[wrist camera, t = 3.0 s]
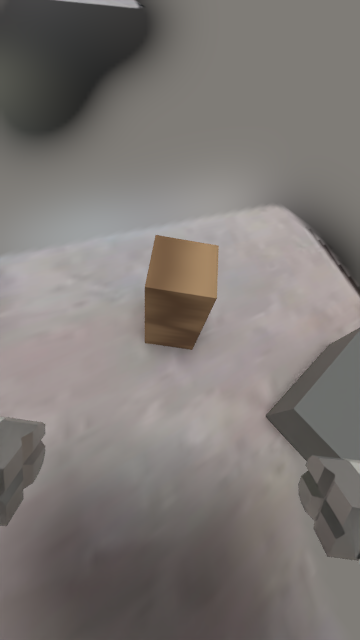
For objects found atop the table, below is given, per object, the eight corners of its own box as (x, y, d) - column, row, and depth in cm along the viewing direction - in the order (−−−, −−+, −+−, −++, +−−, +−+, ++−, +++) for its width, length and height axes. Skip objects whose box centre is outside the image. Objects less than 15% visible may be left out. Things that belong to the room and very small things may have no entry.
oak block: (195, 309, 28) (218, 245, 19) (192, 349, 26) (216, 298, 17) (152, 302, 28) (155, 234, 19) (144, 342, 25) (144, 286, 16)
